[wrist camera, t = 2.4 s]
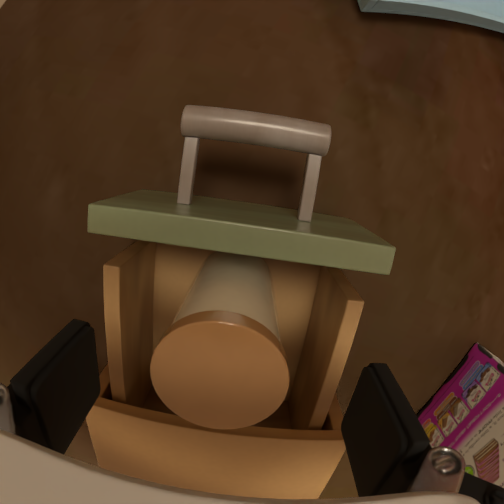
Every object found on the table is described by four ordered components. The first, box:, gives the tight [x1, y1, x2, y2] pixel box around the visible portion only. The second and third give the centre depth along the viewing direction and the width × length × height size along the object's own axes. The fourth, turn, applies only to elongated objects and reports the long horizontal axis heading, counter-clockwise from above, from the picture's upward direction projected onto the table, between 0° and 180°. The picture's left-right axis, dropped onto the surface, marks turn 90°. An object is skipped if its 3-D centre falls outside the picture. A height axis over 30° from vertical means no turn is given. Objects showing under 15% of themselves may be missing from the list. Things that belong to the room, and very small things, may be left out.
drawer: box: [87, 105, 396, 430], centre depth 16 cm, size 18×12×7 cm
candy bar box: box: [417, 343, 504, 488], centre depth 16 cm, size 11×5×16 cm, turn 150°
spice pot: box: [150, 251, 290, 429], centre depth 14 cm, size 5×5×9 cm
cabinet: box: [86, 364, 346, 499], centre depth 20 cm, size 15×14×9 cm
